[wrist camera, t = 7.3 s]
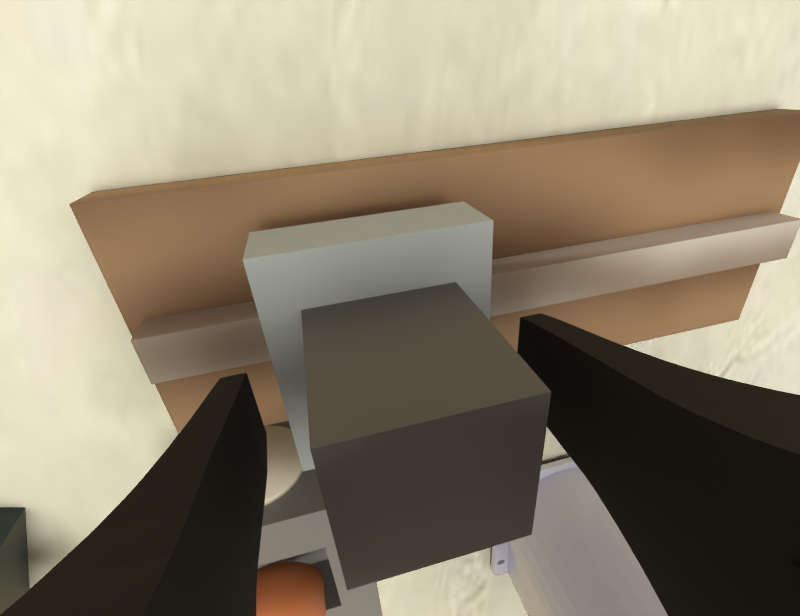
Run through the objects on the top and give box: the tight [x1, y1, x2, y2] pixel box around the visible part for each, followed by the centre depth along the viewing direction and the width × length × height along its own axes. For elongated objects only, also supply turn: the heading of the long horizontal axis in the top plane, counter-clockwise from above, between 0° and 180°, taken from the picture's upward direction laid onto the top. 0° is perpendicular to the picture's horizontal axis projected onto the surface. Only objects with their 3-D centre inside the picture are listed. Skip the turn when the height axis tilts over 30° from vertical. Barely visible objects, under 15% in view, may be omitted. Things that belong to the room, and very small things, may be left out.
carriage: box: [243, 201, 551, 590], centre depth 10 cm, size 7×6×6 cm
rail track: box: [69, 109, 800, 434], centre depth 15 cm, size 9×25×3 cm, turn 95°
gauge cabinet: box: [258, 421, 382, 616], centre depth 17 cm, size 8×7×5 cm
